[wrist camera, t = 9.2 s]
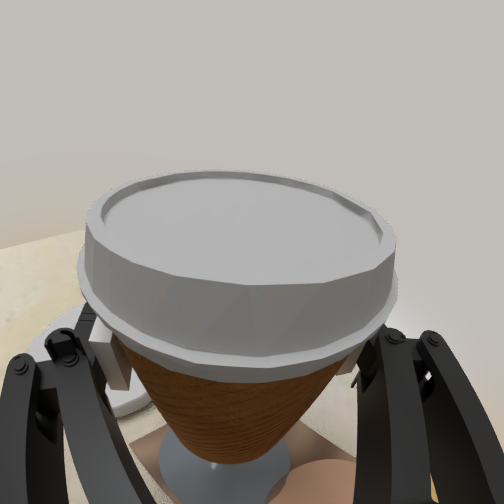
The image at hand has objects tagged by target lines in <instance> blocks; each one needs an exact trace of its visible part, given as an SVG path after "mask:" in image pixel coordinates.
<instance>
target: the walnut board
mask: <svg viewBox="0 0 504 504" xmlns="http://www.w3.org/2000/svg"><path fill="white" fill-rule="evenodd" d="M170 429H171V428H170V426H169V425H168V424H166V425H164V426H162V427H161V428H159V429H157V430H155V431H153V432H151V433H149V434H148V435H146V436H144V437H142V438H140V439H138V440H136V441H134V442H132V443H130V444H129V446H130V447H131V449H132V450H133V452H134V453H135V454H136V456H137V457H138V459H139V460H140V461H141V463H142V464H143V465H144V467H145V468H146V469H147V471H148V472H149V473H150V475H151V476H152V477H153V478H154V480H155V481H156V482H157V483H158V484H159V486H160V487H161V488H162V489H163V490H164V492H165V493H166V494H167V495H168V496H169V497H170V498H171V499H172V501H173V502H174V503H175V504H185V503H184V502H183V501H181V500H180V499H179V498H178V497H177V496H176V495H174V494H173V493H172V491H171V490H170V489H169V487H168V486H167V485H166V483H165V481H164V479H163V477H162V474H161V471H160V467H159V451H160V447H161V444H162V441H163V439H164V437H165V436H166V434H167V433H168V431H169V430H170ZM282 439H283V440H284V442H285V444H286V446H287V449H288V452H289V456H290V471H291V470H293V469H295V468H297V467H299V466H301V465H304V464H306V463H309V462H313V461H318V460H324V459H340V460H347V461H351V462H355V463H356V458H355V457H353V456H351V455H350V454H348V453H347V452H345V451H343V450H342V449H340V448H339V447H337V446H336V445H334V444H333V443H331V442H330V441H328V440H327V439H325V438H324V437H322V436H321V435H319V434H318V433H316V432H315V431H313V430H312V429H311V428H309V427H308V426H306V425H305V424H304V423H302V422H301V421H299V420H298V421H297V422H296V423H295V425H294V426H293V427H292V428H291V429H290V430H289V431H288V432H287V433H286V434H285V436H284V437H283V438H282Z"/></svg>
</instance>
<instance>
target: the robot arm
mask: <svg viewBox="0 0 504 504" xmlns="http://www.w3.org/2000/svg"><path fill="white" fill-rule="evenodd" d="M44 347H45V348H46V350H47V352H48V354H49V356H50V358H51V360H47V361H40V362H35V360H34V358H33V357H32V356H31V355H29V354H26V353H22V354H18V355H16V356H15V357H13V358H12V359H11V360H10V362H9V364H8V366H7V370H6V374H5V378H4V383H3V387H2V392H1V397H0V504H69V500H68V493H67V486H66V476H65V464H64V442H63V425H64V429H65V433H66V437H67V441H68V445H69V448H70V452H71V455H72V458H73V462H74V465H75V468H76V471H77V473H78V476H79V479H80V482H81V484H82V487H83V490H84V492H85V495H86V497H87V499H88V502H89V504H157V503H156V502H155V500H154V498H153V497H152V495H151V493H150V491H149V490H148V488H147V486H146V484H145V482H144V481H143V479H142V477H141V475H140V473H139V471H138V469H137V467H136V465H135V463H134V461H133V459H132V456H131V454H130V452H129V450H128V448H127V445H126V443H125V441H124V438H123V436H122V433H121V431H120V429H119V426H118V423H117V421H116V418H115V415H114V413H113V410H112V407H111V404H110V401H109V398H108V396H107V394H106V392H105V389H106V383H108V385H109V387H110V389H111V390H120V391H129V389H130V380H131V373H132V365H131V363H130V361H129V360H128V358H127V356H126V354H125V352H124V349H123V348H122V347H121V345H120V343H119V341H118V337H117V336H116V335H115V334H114V333H113V332H112V331H111V330H110V329H108V328H107V327H105V326H104V324H103V323H102V322H101V320H100V319H99V318H98V316H97V315H96V313H95V312H94V311H93V309H92V308H91V307H90V305H89V304H88V302H86V303H85V304H84V307H83V309H82V311H81V314H80V316H79V318H78V321H77V323H76V326H75V328H74V330H73V329H71V328H67V327H66V328H59V329H56V330H54V331H52V332H51V333H50V334H49V335H48V336H47V338H46V339H45V343H44ZM356 363H357V365H358V367H359V369H360V370H359V372H358V374H357V375H356V377H355V379H354V381H353V382H352V384H351V388H353V387H354V386H355V384H356V382H357V404H358V425H357V457H356V474H355V486H354V496H353V504H504V453H503V451H502V448H501V446H500V443H499V441H498V438H497V436H496V434H495V431H494V429H493V427H492V425H491V422H490V420H489V418H488V416H487V414H486V412H485V410H484V408H483V406H482V404H481V402H480V400H479V398H478V396H477V394H476V392H475V391H474V389H473V387H472V386H471V383H470V382H469V380H468V378H467V376H466V374H465V373H464V371H463V369H462V368H461V366H460V364H459V362H458V361H457V359H456V358H455V356H454V354H453V353H452V351H451V349H450V348H449V346H448V345H447V343H446V342H445V340H444V339H443V338H442V337H441V335H439V334H438V333H436V332H434V331H430V330H427V331H424V332H423V333H422V334H421V336H420V338H419V339H408V338H406V337H405V335H403V333H402V332H400V331H398V330H397V329H394V328H387V327H386V326H385V324H383V325H382V327H381V328H380V329H379V330H378V331H377V333H376V334H375V335H374V336H373V337H372V338H370V339H369V340H367V341H366V342H364V343H363V344H361V345H360V346H358V347H357V348H355V349H354V350H353V351H352V352H351V353H350V354H349V356H348V357H347V359H346V360H345V362H344V363H343V364H342V366H341V367H340V369H339V370H338V371H337V373H336V376H337V375H342V374H346V373H350V372H352V370H353V368H354V367H355V365H356ZM428 372H430V373H431V376H432V377H431V378H430V379H429V380H427V379H426V377H425V376H426V374H427V373H428ZM430 473H431V476H432V479H433V483H434V486H435V490H436V494H437V497H438V501H439V503H437V502H435V501H433V500H432V497H431V477H430Z"/></svg>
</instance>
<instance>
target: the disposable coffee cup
mask: <svg viewBox="0 0 504 504" xmlns="http://www.w3.org/2000/svg"><path fill="white" fill-rule="evenodd" d="M395 248H396V235H395V233H394V230H393V228H392V226H391V225H389V223H388V222H387V221H386V220H385V219H384V218H383V217H382V216H381V215H380V214H379V213H378V212H377V211H376V210H374V209H373V208H371V207H369V206H368V205H366V204H365V203H363V202H361V201H359V200H357V199H355V198H353V197H351V196H349V195H347V194H345V193H342V192H339V191H337V190H334V189H332V188H329V187H325V186H322V185H319V184H315V183H312V182H308V181H304V180H301V179H297V178H291V177H286V176H281V175H275V174H268V173H261V172H254V171H239V170H219V169H217V170H216V169H213V170H212V169H211V170H189V171H177V172H168V173H162V174H157V175H152V176H148V177H144V178H139V179H136V180H133V181H129V182H127V183H124V184H122V185H119V186H117V187H115V188H113V189H111V190H109V191H108V192H106V193H105V194H104V195H102V196H101V197H100V198H98V199H97V200H96V201H94V202H93V204H92V205H91V207H90V209H89V210H88V213H87V221H86V232H85V244H84V245H83V247H82V249H81V251H80V253H79V258H78V264H77V274H78V279H79V284H80V289H81V292H82V295H83V296H84V298H85V299H86V301H87V302H88V304H89V305H90V307H91V308H92V309H93V311H94V312H95V313H96V315H97V316H98V318H99V319H100V320H101V322H102V323H103V324H104V326H105V327H107V328H108V329H110V330H111V331H112V332H113V333H114V334H115V335H116V336H117V337H118V341H119V343H120V345H121V347H122V348H123V349H124V352H125V354H126V356H127V358H128V360H129V361H130V363H131V365H132V367H133V369H134V371H135V372H136V374H137V376H138V378H139V380H140V381H141V383H142V384H143V386H144V388H145V389H146V391H147V392H148V394H149V396H150V398H151V399H152V401H153V403H154V404H155V406H156V407H157V409H158V410H159V412H160V413H161V415H162V416H163V418H164V419H165V421H166V422H167V423H168V425H169V426H170V428H171V429H172V431H173V432H174V433H175V435H176V436H177V437H178V439H179V440H180V442H181V443H182V444H183V445H184V446H185V447H186V448H187V449H188V450H189V451H190V452H192V453H193V454H195V455H196V456H198V457H199V458H202V459H204V460H207V461H209V462H213V463H218V464H241V463H246V462H250V461H253V460H255V459H258V458H259V457H261V456H263V455H264V454H266V453H267V452H268V451H270V450H271V449H272V448H273V447H274V446H275V445H276V444H277V443H278V442H279V441H280V440H281V439H282V438H283V437H284V436H285V434H286V433H287V432H288V431H289V430H290V429H291V428H292V427H293V426H294V425H295V423H296V422H297V421H298V420H299V419H300V418H301V416H302V415H303V414H304V413H305V412H306V411H307V410H308V408H309V407H310V406H311V405H312V403H313V402H314V401H315V400H316V399H317V397H318V396H319V395H320V394H321V392H322V391H323V390H324V388H325V387H326V386H327V384H328V383H329V382H330V381H331V379H332V378H333V377H334V375H335V374H336V373H337V371H338V370H339V369H340V367H341V366H342V364H343V363H344V362H345V360H346V359H347V357H348V356H349V354H350V353H351V352H352V351H353V350H354V349H355V348H357V347H358V346H360V345H361V344H363V343H364V342H366V341H367V340H369V339H370V338H372V337H373V336H374V335H375V334H376V333H377V331H378V330H379V329H380V328H381V327H382V325H383V324H384V323H385V322H386V320H387V318H388V316H389V314H390V313H391V311H392V309H393V307H394V304H395V303H396V301H397V296H398V295H397V294H398V278H397V275H396V273H395V270H394V260H395Z"/></svg>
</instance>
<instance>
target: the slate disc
mask: <svg viewBox="0 0 504 504" xmlns="http://www.w3.org/2000/svg"><path fill="white" fill-rule="evenodd" d="M159 467H160V471H161V474H162V477H163V479H164V481H165V483H166V485H167V486H168V487H169V489H170V490H171V491H172V493H173V494H174V495H176V496H177V497H178V498H179V499H180V500H181V501H183V502H184V503H185V504H265V503H266V504H268V503H267V501H266V498H267V497H268V498H272V497H270V496H267V495H268V494H269V495H272V494H273V492H274V493H275V491H276V490H277V489H278V490H280V489H281V490H282V489H283V488H282V486H283V485H281V484H282V483H283V482H284V481H285V482H287V481H286V480H284V478H283V477H285V478H286V479H287V477H286V476H287V475H288V474H289V472H290V456H289V452H288V449H287V446H286V444H285V442H284V440H283V439H281V440H280V441H279V442H278V443H277V444H276V445H275V446H274V447H273V448H272V449H271V450H270V451H268V452H267V453H266V454H264V455H263V456H261V457H259V458H258V459H255V460H253V461H250V462H246V463H241V464H218V463H213V462H209V461H207V460H204V459H202V458H199V457H198V456H196V455H195V454H193V453H192V452H190V451H189V450H188V449H187V448H186V447H185V446H184V445H183V444H182V443H181V442H180V440H179V439H178V437H177V436H176V435H175V433H174V432H173V431H172V429H170V430H169V431H168V433H167V434H166V436H165V437H164V439H163V441H162V444H161V447H160V451H159ZM287 473H288V474H287ZM286 474H287V475H286ZM284 475H285V476H284ZM281 478H283V479H281ZM279 479H281V480H283V482H282V483H281V482H280V485H281V486H279V487H277V485H276V486H274V485H275V484H278V485H279V483H277V482H278V480H279ZM283 484H285V483H283ZM273 487H274V488H276V487H277V488H276V490H275V491H274V490H273V489H274V488H273ZM280 487H281V488H280ZM271 488H273V489H272V490H271ZM278 490H277V492H278ZM269 492H272V493H269ZM279 493H280V491H279ZM276 494H277V493H276ZM277 495H278V494H277ZM277 495H276V496H277ZM276 496H275V497H276ZM273 498H274V497H273ZM267 500H268V499H267ZM268 502H270V501H269V500H268Z"/></svg>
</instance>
